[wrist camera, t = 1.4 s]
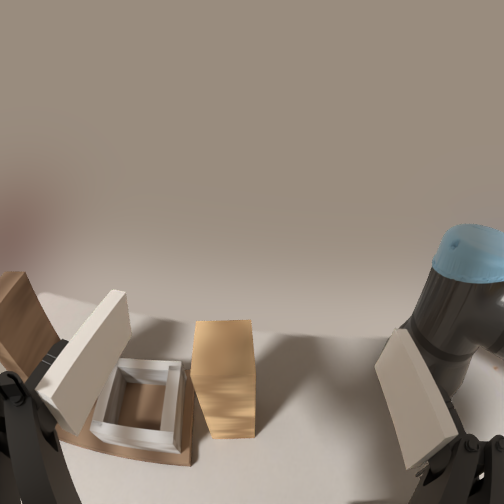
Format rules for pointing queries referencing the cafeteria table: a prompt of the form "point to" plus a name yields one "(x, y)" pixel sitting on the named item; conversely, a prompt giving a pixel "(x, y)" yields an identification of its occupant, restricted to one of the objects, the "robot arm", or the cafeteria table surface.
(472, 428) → the cafeteria table surface
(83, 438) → the wooden peg insertion stand
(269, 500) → the cafeteria table surface
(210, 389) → the block
